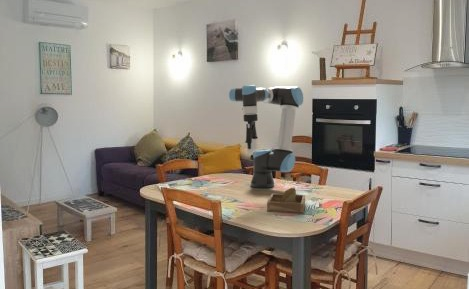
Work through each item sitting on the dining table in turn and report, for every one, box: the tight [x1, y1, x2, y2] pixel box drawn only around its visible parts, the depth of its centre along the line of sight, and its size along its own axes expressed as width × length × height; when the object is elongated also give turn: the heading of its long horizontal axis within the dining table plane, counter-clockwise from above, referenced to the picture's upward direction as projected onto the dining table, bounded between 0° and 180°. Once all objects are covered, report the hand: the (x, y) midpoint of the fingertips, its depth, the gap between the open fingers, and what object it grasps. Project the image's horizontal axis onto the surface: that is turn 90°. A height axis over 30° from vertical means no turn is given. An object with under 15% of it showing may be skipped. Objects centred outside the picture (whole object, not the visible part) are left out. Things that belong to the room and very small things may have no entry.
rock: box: [280, 187, 297, 203], centre depth 221 cm, size 11×9×10 cm
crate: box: [266, 193, 306, 214], centre depth 221 cm, size 18×18×5 cm
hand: (252, 152), depth 233 cm, fingers open, 13 cm apart
